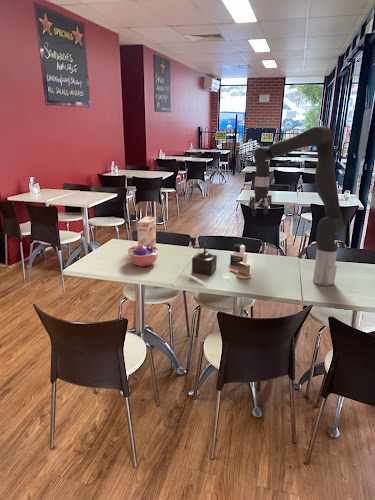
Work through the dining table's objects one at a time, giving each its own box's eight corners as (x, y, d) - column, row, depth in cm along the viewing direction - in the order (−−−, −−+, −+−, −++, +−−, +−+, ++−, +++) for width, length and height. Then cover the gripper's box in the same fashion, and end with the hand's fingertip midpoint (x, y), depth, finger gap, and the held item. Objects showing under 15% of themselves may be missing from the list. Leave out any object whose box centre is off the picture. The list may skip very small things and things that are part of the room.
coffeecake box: (148, 254, 223) (148, 222, 217) (137, 253, 225) (136, 221, 219) (156, 247, 237) (156, 216, 231) (145, 246, 238) (145, 216, 232)
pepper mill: (217, 271, 198) (218, 238, 192) (210, 278, 188) (211, 244, 183) (190, 267, 204) (190, 235, 198) (182, 273, 194) (182, 240, 188)
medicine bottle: (229, 266, 205) (230, 245, 201) (234, 262, 211) (235, 242, 207) (242, 269, 202) (243, 247, 198) (246, 265, 208) (248, 244, 204)
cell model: (161, 259, 215) (161, 240, 212) (155, 271, 196) (154, 251, 193) (132, 257, 217) (131, 238, 213) (123, 269, 198) (122, 249, 194)
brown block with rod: (253, 277, 187) (254, 264, 185) (242, 280, 183) (243, 267, 181) (235, 269, 197) (236, 256, 195) (225, 271, 194) (225, 259, 191)
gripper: (256, 186, 195) (254, 217, 200) (276, 185, 203) (273, 214, 208) (247, 185, 201) (245, 214, 206) (266, 183, 209) (264, 212, 213)
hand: (259, 214), depth 207 cm, fingers open, 8 cm apart
